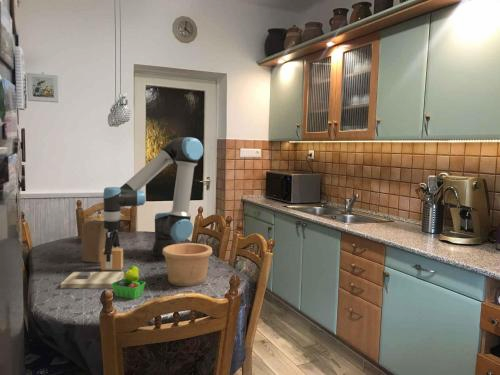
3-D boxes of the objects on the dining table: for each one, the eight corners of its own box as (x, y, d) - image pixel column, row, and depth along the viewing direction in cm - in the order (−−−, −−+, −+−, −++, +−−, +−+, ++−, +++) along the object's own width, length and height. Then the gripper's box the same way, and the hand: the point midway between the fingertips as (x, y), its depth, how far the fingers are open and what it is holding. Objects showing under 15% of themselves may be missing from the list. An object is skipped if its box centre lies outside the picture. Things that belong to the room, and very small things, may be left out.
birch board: (123, 275, 182) (123, 271, 182) (115, 288, 166) (115, 283, 166) (73, 276, 179) (73, 271, 179) (60, 288, 163) (60, 283, 163)
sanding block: (123, 268, 193) (123, 248, 192) (121, 271, 188) (120, 250, 187) (103, 268, 192) (103, 248, 191) (101, 271, 187) (101, 250, 186)
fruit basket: (110, 296, 157) (110, 268, 156) (125, 289, 165) (125, 262, 164) (134, 301, 153) (134, 272, 152) (148, 293, 161) (148, 266, 160)
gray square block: (90, 276, 174) (90, 272, 174) (87, 278, 170) (87, 275, 170) (80, 276, 174) (80, 272, 174) (77, 279, 170) (77, 275, 170)
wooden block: (99, 263, 199) (98, 224, 198) (81, 262, 201) (80, 223, 200) (110, 258, 209) (109, 220, 207) (92, 256, 211) (92, 219, 209)
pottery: (217, 275, 186) (218, 245, 185) (201, 291, 165) (202, 257, 164) (174, 270, 191) (175, 241, 190) (153, 285, 170) (153, 252, 169)
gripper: (110, 215, 200) (110, 256, 201) (96, 224, 175) (96, 271, 177) (125, 215, 200) (125, 256, 202) (114, 224, 176) (114, 271, 178)
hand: (112, 264), depth 190 cm, fingers open, 13 cm apart
